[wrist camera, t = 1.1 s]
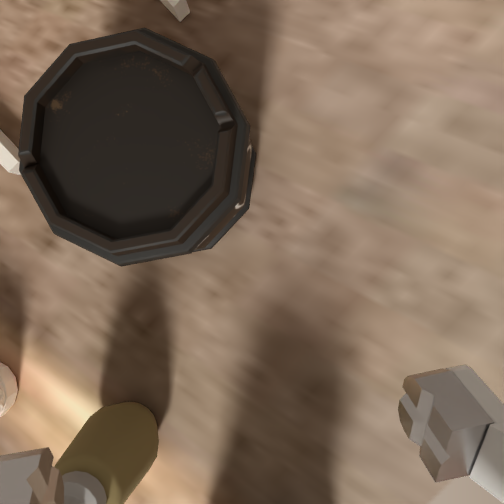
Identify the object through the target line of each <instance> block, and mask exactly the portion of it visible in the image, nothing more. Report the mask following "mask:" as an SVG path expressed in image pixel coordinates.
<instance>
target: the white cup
mask: <svg viewBox="0 0 504 504" xmlns="http://www.w3.org/2000/svg"><path fill="white" fill-rule="evenodd" d="M17 393H18V387H17V382H16V377H15V376H14V374H13V373H12V371H11V370H10V369H9V367H8V366H6V365H5V364H3V363H1V362H0V417H2V416H3V415H4V414H6V413H7V411H8V410H9V409H10V408H11V407H12V406H13V405H14V403H15V400H16V396H17Z"/></svg>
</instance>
